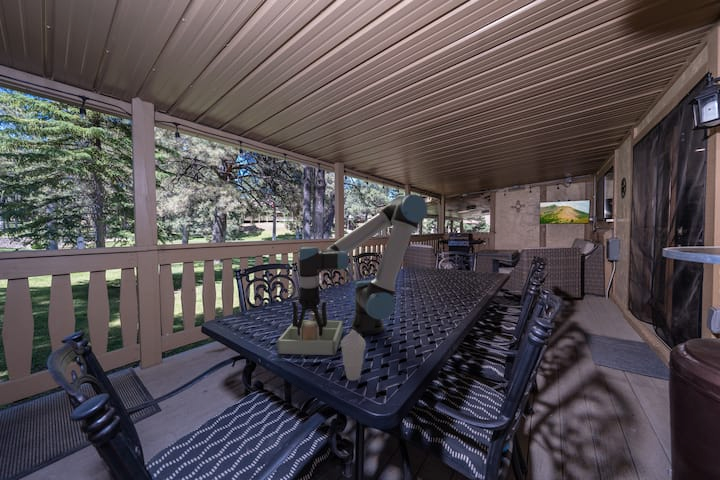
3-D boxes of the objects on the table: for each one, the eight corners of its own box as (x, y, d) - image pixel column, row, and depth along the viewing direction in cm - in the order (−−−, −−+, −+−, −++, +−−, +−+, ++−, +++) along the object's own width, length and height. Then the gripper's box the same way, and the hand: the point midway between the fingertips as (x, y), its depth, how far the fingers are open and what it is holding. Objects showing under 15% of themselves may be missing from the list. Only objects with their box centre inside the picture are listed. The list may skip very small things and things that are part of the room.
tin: (324, 333, 121) (324, 310, 121) (321, 338, 115) (321, 315, 115) (311, 332, 122) (310, 310, 121) (307, 338, 116) (307, 315, 115)
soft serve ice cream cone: (340, 370, 92) (339, 324, 91) (364, 369, 92) (364, 323, 92) (340, 385, 83) (340, 334, 82) (367, 383, 84) (367, 333, 83)
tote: (342, 333, 123) (342, 320, 122) (335, 357, 101) (334, 341, 101) (295, 332, 124) (295, 320, 124) (277, 356, 102) (277, 340, 102)
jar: (319, 342, 111) (319, 320, 110) (316, 349, 105) (315, 326, 104) (305, 342, 111) (304, 320, 111) (300, 349, 105) (300, 326, 105)
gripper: (334, 284, 110) (335, 339, 111) (288, 283, 111) (290, 338, 112) (331, 288, 102) (332, 348, 104) (282, 288, 104) (283, 346, 105)
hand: (310, 343), depth 108 cm, fingers closed on jar, 6 cm apart
